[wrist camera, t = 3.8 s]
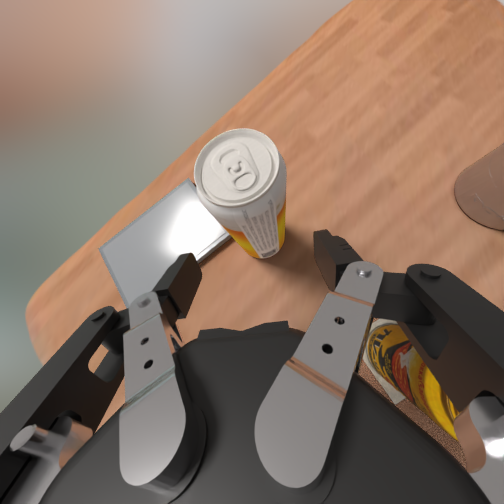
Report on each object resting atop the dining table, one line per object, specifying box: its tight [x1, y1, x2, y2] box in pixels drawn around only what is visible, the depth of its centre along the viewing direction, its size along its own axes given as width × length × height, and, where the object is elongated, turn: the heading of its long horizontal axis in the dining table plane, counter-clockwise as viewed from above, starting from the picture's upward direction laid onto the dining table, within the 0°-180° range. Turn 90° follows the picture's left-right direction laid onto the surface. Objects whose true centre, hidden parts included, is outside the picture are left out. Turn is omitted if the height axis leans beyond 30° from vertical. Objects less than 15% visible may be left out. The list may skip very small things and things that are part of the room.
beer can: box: [194, 129, 286, 258], centre depth 18 cm, size 6×6×15 cm
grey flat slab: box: [98, 178, 232, 308], centre depth 27 cm, size 18×12×1 cm, turn 127°
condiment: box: [363, 319, 459, 442], centre depth 14 cm, size 7×8×12 cm
